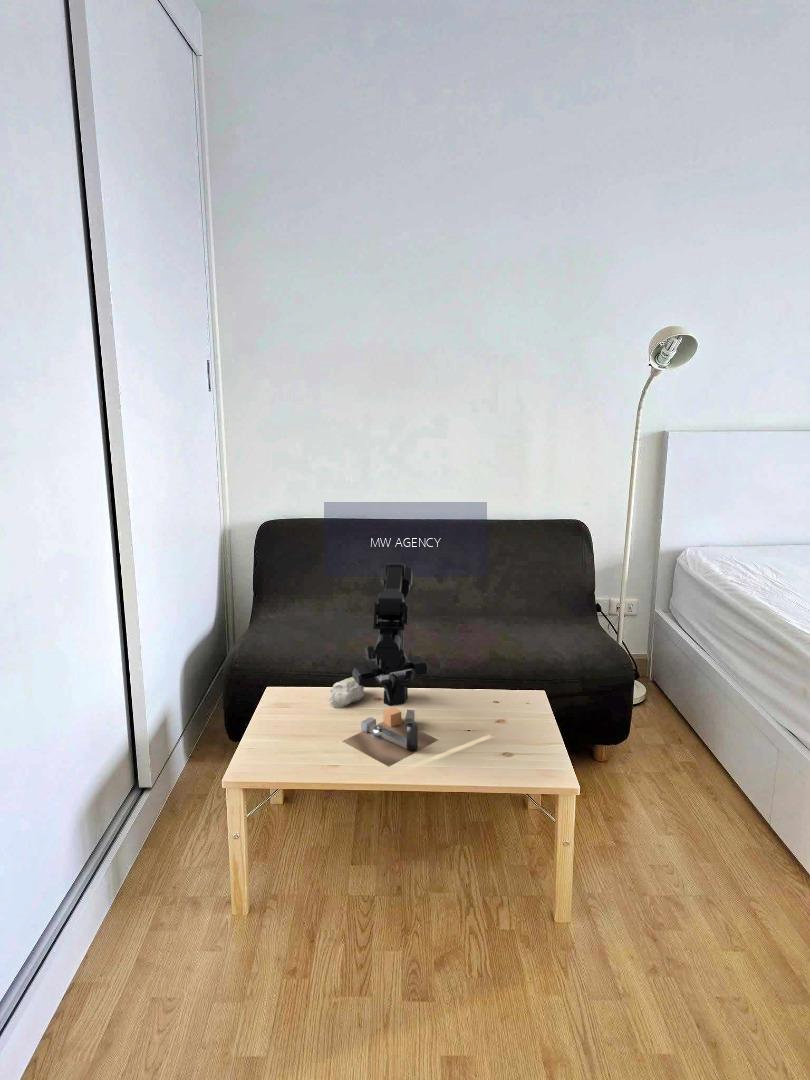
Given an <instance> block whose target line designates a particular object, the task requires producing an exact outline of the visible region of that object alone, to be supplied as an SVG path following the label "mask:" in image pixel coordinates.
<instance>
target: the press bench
mask: <svg viewBox="0 0 810 1080" xmlns="http://www.w3.org/2000/svg"><path fill="white" fill-rule="evenodd" d="M415 715H416V714H415V709H407V710H406V713H405V718H404V720H405V721H404V722H403V721H401V724H398V725H396V726H393V727H390V726H388V725H387V724H385V723H384V722H383V721H382V722H380V723H376V725H378V726H385V727H386V728H387V730H390V731H392V732H394V733H396V734H399V735H401V736H403V737H406V736H407V724H409V723H415ZM437 741H439V739H438V738H436V737H434V736H433V735H430V734H428V733H426V732H424V731H422V730H419V729H418V749H417V750H416V751H408V750H407V749H406V748H404V747H401V746H399V745H397V744H395V743H393V742H390V741H388V740H386V739H384V738H381V737H375V736H374V735H373V733H370V732H367V733H366V732H364V731H361V732H359V733H357V734H354V735H351V736H350V737H348V738H345V739H344V740H342V743H345V744H346V745H348V746H350V747H352V748H353V749H355V750H357V751H359V752H361V753H363V754H365V755H367V756H368V757H370V758H372V759H374V760H376V761H378V762H379V763H381V764H383V765H385V766H387V768H388V767H390V766H392V765H395V764H396V763H399V762H400V761H402V760H403V759H407V757H409V756H412V755H413V754H415V753H416V752H418V751H420V750H422V749H425V748H426V747H429V746H431V745H432V744H434V743H436V742H437Z"/></svg>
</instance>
